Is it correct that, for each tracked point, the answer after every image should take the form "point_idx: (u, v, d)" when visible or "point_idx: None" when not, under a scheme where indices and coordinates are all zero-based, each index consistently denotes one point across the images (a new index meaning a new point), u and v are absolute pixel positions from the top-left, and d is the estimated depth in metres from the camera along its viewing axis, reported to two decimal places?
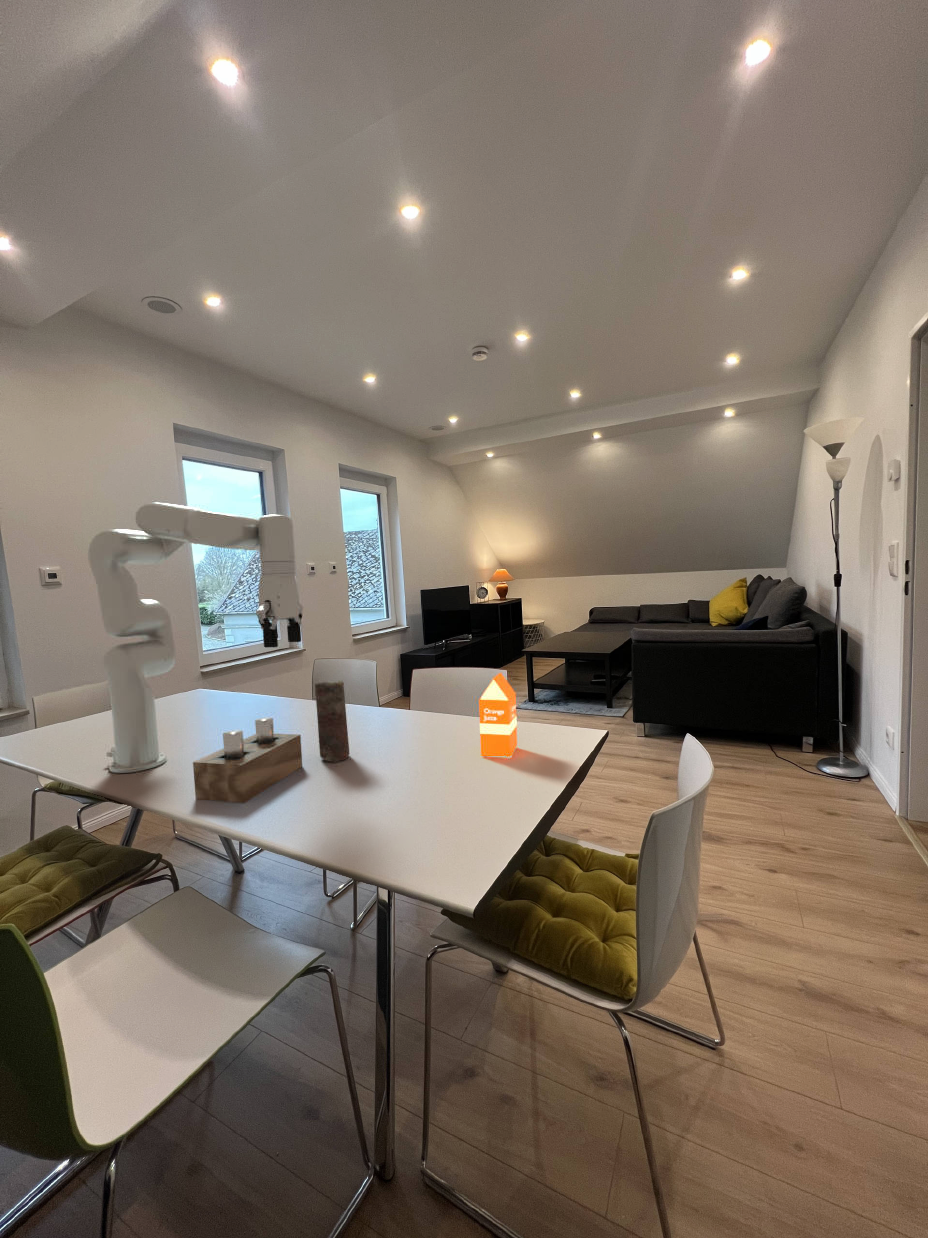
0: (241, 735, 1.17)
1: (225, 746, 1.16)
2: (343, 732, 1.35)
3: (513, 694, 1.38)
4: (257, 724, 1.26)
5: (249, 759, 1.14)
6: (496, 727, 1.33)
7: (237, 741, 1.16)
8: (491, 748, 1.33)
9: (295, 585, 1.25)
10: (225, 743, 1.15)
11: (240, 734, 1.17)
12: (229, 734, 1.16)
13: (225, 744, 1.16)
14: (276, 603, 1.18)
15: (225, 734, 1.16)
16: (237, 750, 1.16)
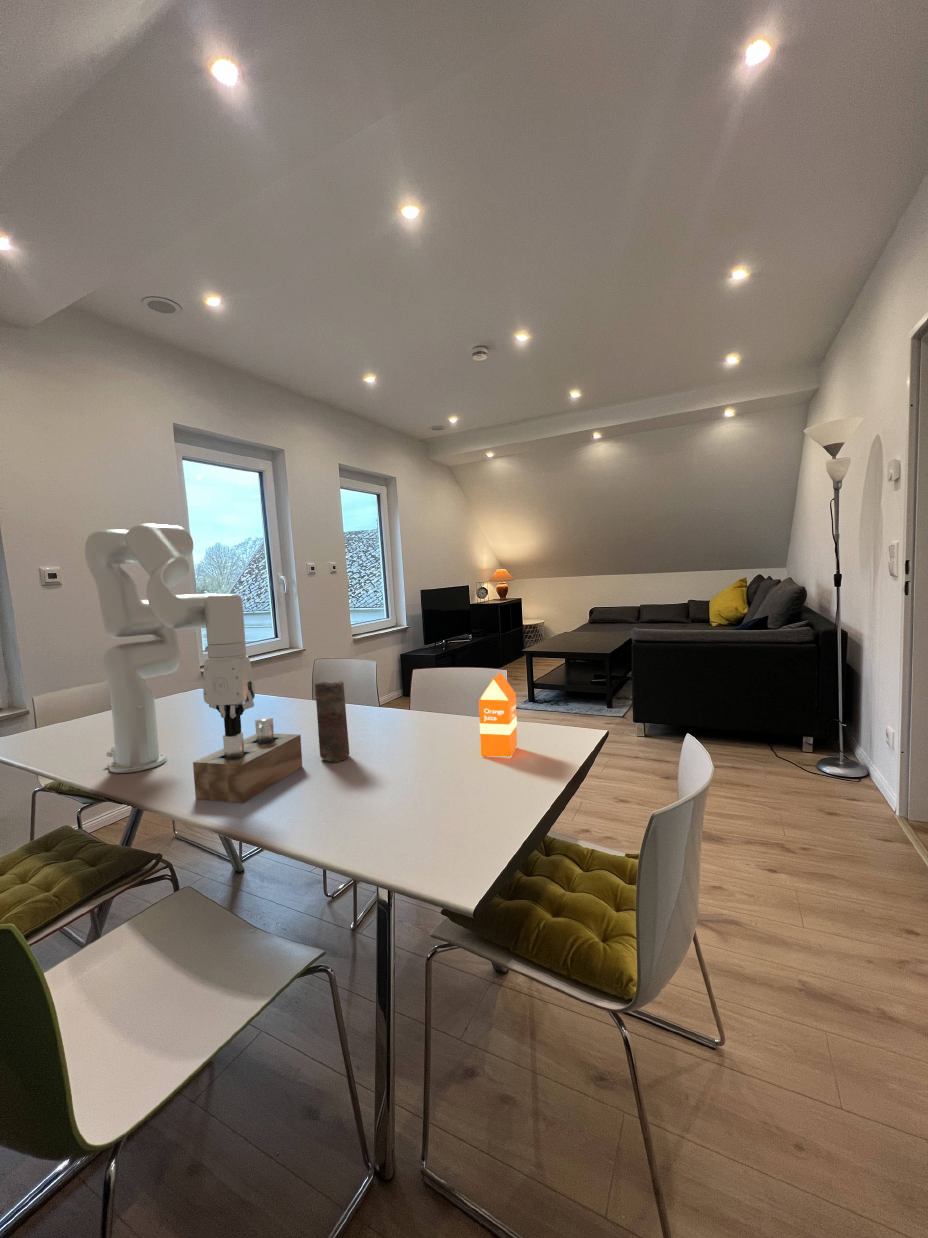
0: (241, 737, 1.17)
1: (225, 748, 1.16)
2: (343, 732, 1.35)
3: (513, 694, 1.38)
4: (257, 724, 1.26)
5: (249, 759, 1.14)
6: (496, 727, 1.33)
7: (237, 743, 1.16)
8: (491, 748, 1.33)
9: None
10: (225, 745, 1.16)
11: (240, 736, 1.17)
12: (229, 736, 1.16)
13: (225, 746, 1.16)
14: None
15: (225, 736, 1.16)
16: (237, 751, 1.16)
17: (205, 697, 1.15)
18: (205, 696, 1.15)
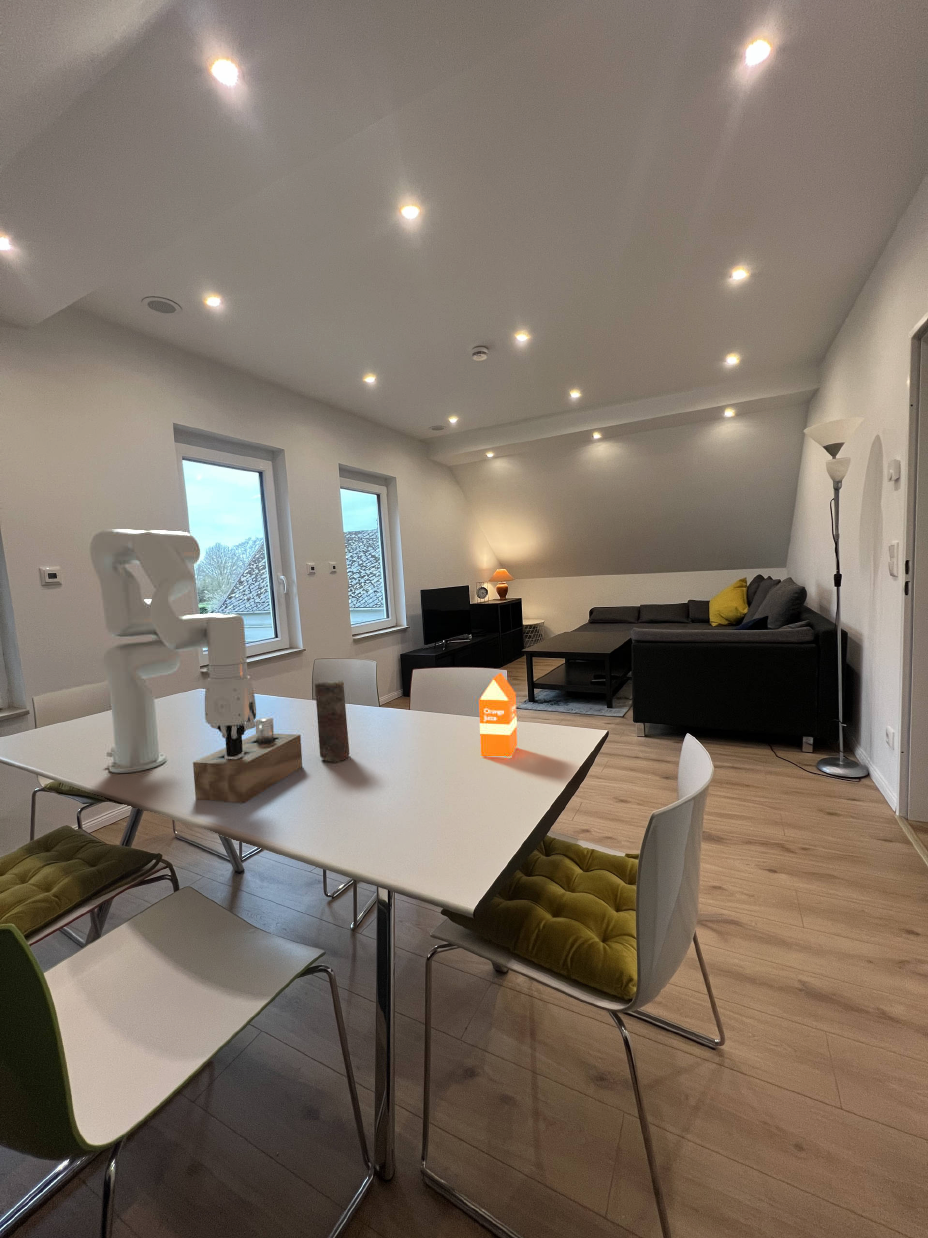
0: None
1: None
2: (343, 732, 1.35)
3: (513, 694, 1.38)
4: (257, 724, 1.26)
5: (249, 759, 1.14)
6: (496, 727, 1.33)
7: None
8: (491, 748, 1.33)
9: None
10: None
11: None
12: (231, 756, 1.16)
13: None
14: None
15: (227, 756, 1.16)
16: None
17: (207, 717, 1.15)
18: (207, 717, 1.15)
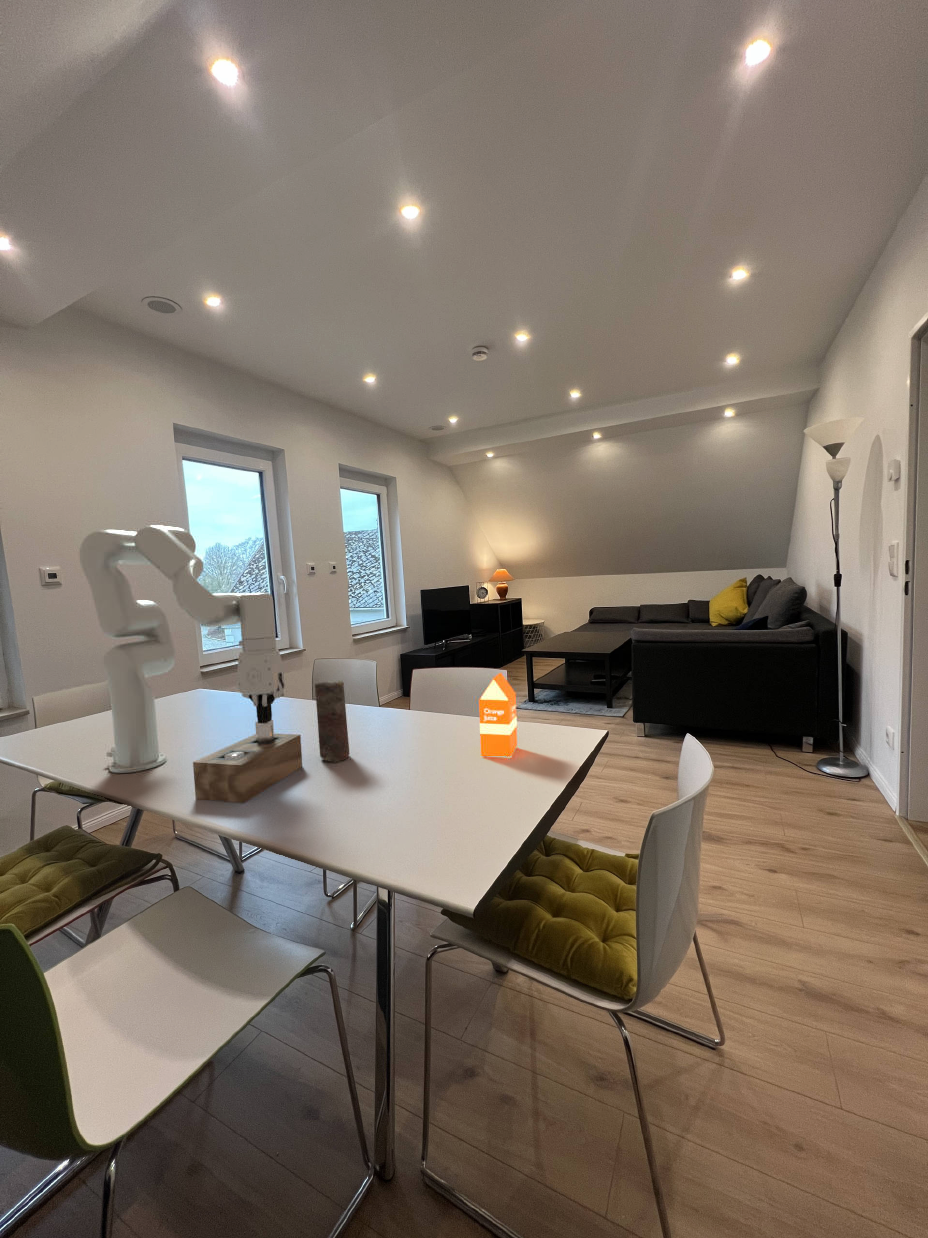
0: None
1: None
2: (343, 732, 1.35)
3: (514, 694, 1.38)
4: (257, 726, 1.26)
5: (249, 759, 1.14)
6: (496, 727, 1.33)
7: None
8: (491, 748, 1.33)
9: None
10: None
11: None
12: (231, 756, 1.16)
13: None
14: None
15: (227, 756, 1.16)
16: None
17: (239, 687, 1.26)
18: (239, 686, 1.26)
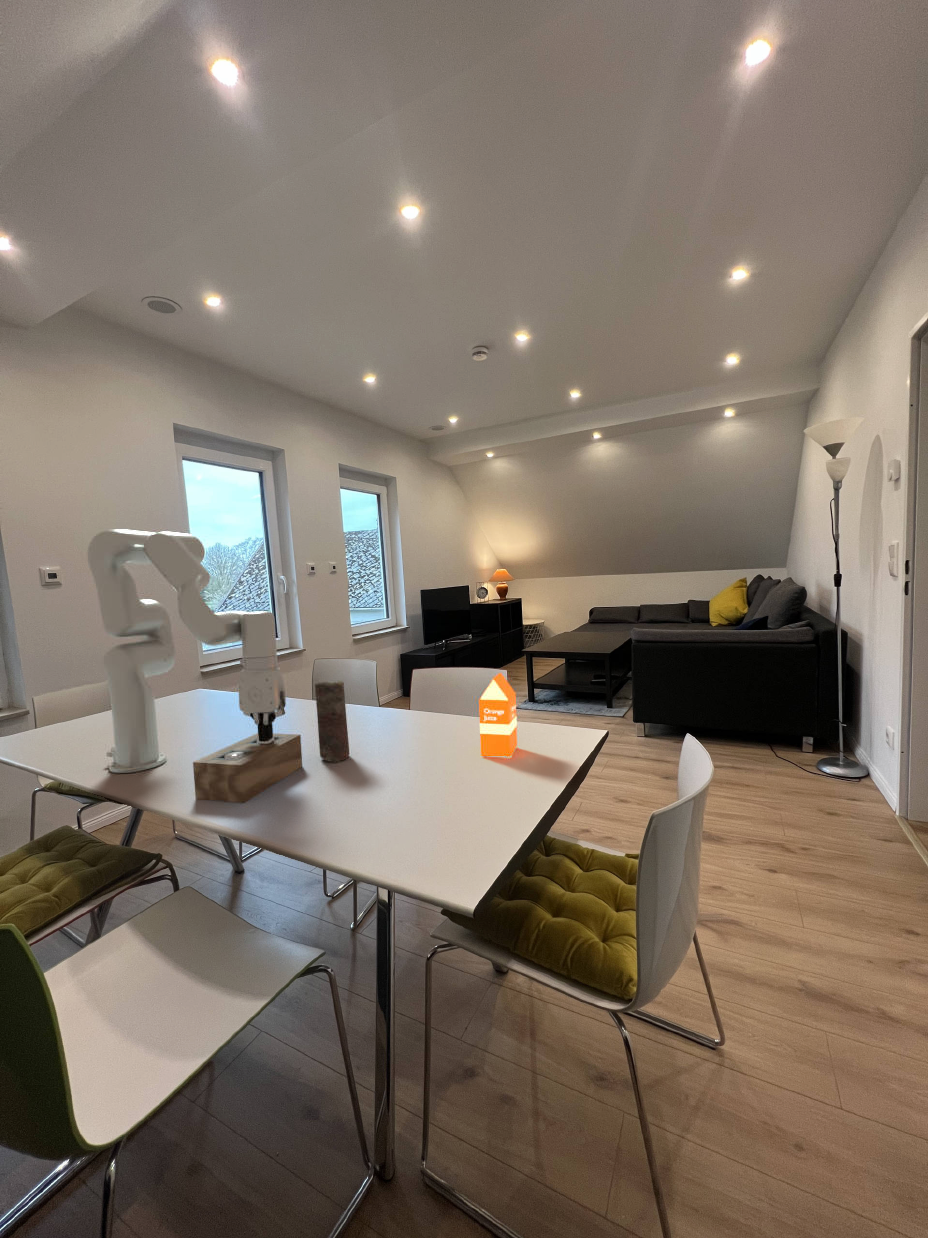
0: None
1: None
2: (343, 732, 1.35)
3: (513, 694, 1.38)
4: None
5: (249, 759, 1.14)
6: (496, 727, 1.33)
7: None
8: (491, 748, 1.33)
9: None
10: None
11: None
12: (231, 756, 1.16)
13: None
14: None
15: (227, 756, 1.16)
16: None
17: (241, 706, 1.26)
18: (241, 705, 1.26)
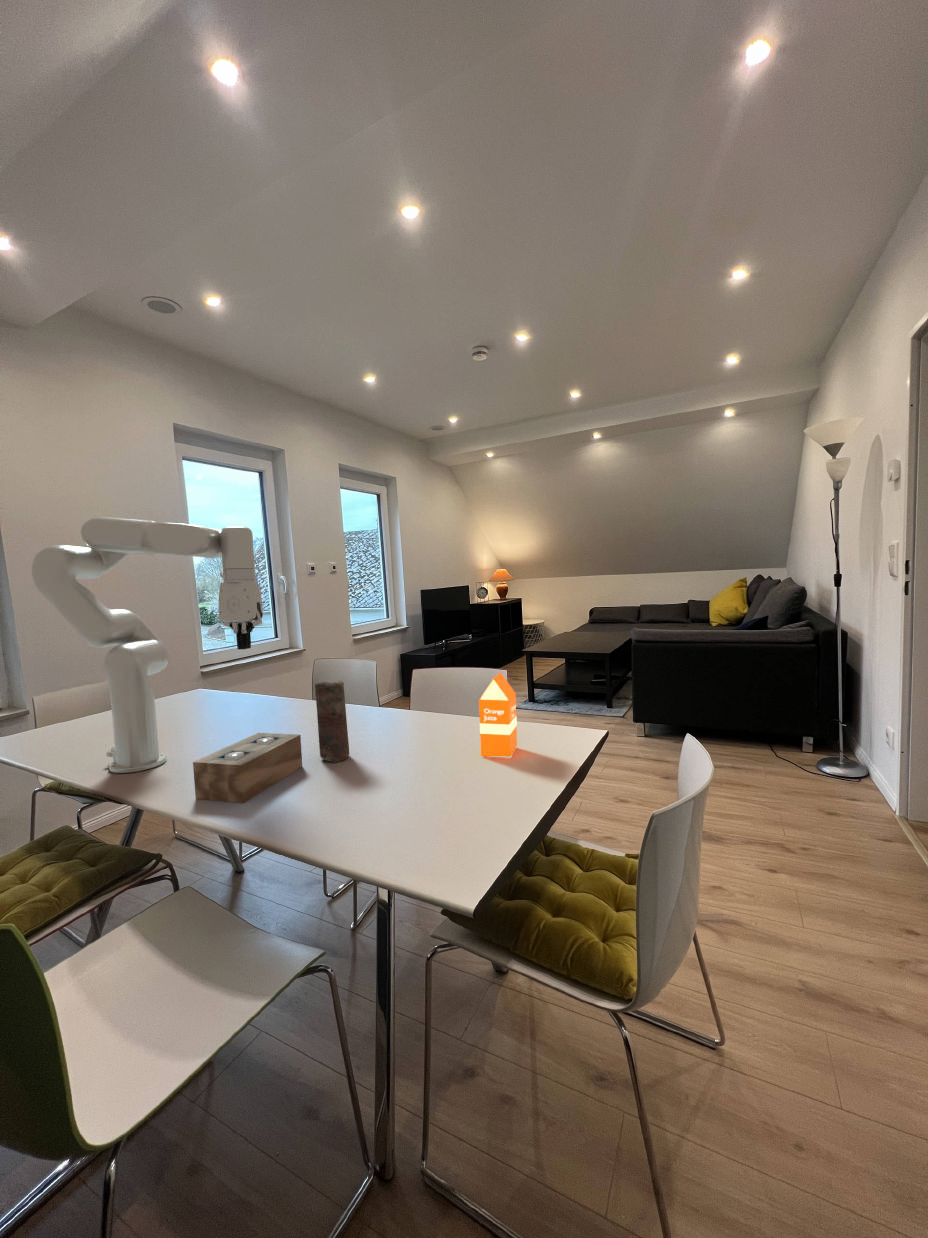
0: None
1: None
2: (343, 732, 1.35)
3: (513, 694, 1.38)
4: None
5: (249, 759, 1.14)
6: (496, 727, 1.33)
7: None
8: (491, 748, 1.33)
9: None
10: None
11: None
12: (231, 756, 1.16)
13: None
14: None
15: (227, 756, 1.16)
16: None
17: (220, 615, 1.34)
18: (220, 614, 1.34)
